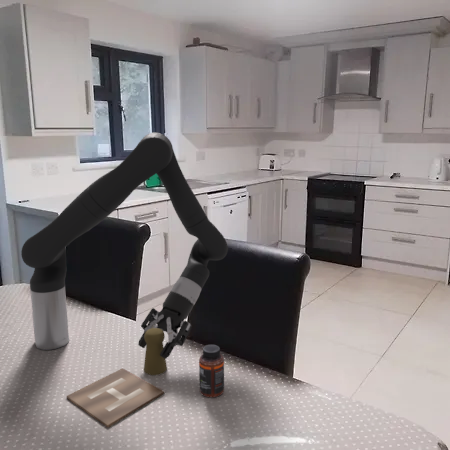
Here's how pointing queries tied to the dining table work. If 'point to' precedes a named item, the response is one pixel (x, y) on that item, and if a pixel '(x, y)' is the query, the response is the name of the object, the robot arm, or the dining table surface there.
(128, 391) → the board
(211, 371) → the supplement bottle
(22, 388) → the dining table surface
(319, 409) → the dining table surface
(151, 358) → the olive pawn figure
